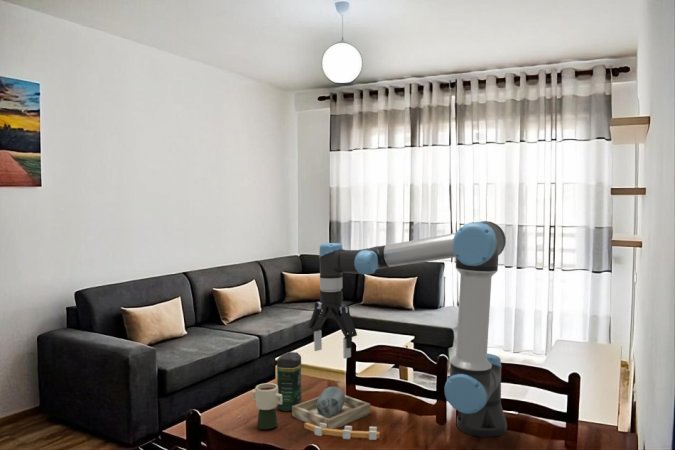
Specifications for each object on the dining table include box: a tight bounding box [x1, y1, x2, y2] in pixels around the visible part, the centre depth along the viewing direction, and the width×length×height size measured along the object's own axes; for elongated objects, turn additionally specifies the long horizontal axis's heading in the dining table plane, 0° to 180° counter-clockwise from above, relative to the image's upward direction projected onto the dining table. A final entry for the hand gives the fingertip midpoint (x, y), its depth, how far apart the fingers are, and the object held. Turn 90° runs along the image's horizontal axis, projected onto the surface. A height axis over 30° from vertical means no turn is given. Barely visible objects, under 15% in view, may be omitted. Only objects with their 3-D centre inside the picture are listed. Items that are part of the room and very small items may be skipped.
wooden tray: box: [291, 394, 371, 430], centre depth 178 cm, size 17×19×4 cm
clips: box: [313, 423, 378, 441], centre depth 163 cm, size 19×5×2 cm, turn 78°
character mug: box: [251, 382, 283, 430], centre depth 169 cm, size 11×7×13 cm, turn 68°
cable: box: [303, 422, 380, 439], centre depth 164 cm, size 24×4×1 cm, turn 71°
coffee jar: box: [276, 351, 303, 412], centre depth 186 cm, size 10×8×19 cm
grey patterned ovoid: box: [316, 385, 346, 418], centre depth 178 cm, size 14×10×10 cm
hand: (332, 353), depth 178 cm, fingers open, 13 cm apart
